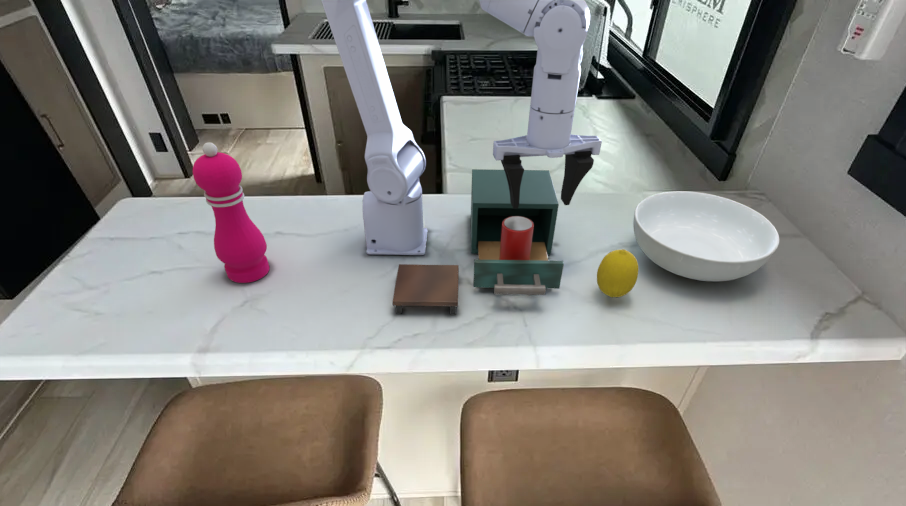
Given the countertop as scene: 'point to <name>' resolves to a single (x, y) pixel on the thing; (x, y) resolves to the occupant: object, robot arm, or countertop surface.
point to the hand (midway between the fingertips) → (539, 203)
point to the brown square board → (426, 286)
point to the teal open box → (495, 205)
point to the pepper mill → (231, 216)
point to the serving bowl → (703, 235)
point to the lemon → (617, 273)
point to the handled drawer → (516, 271)
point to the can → (516, 238)
